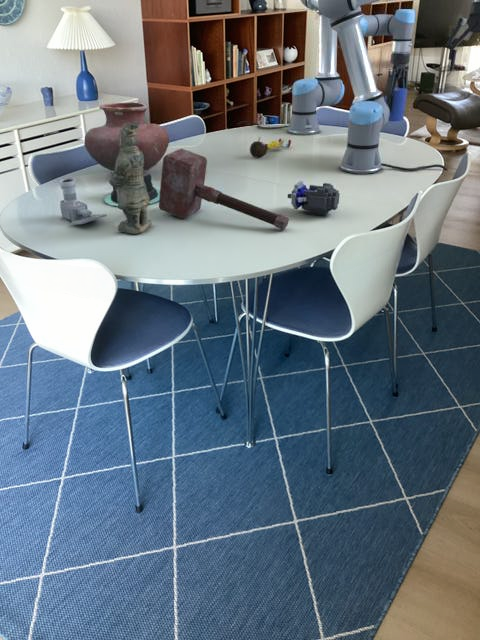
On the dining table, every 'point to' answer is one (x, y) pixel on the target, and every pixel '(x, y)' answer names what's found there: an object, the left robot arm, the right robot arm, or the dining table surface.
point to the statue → (131, 182)
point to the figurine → (266, 147)
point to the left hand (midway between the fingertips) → (393, 110)
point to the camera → (74, 204)
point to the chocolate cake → (152, 192)
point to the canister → (398, 104)
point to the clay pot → (105, 138)
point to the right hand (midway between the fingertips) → (471, 71)
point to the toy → (315, 198)
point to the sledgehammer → (200, 190)
